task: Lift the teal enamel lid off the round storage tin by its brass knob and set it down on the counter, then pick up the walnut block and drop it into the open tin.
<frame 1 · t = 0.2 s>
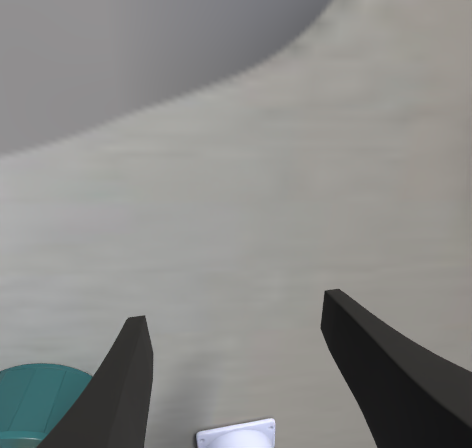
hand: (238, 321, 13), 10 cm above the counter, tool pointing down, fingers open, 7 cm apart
tin: (45, 407, 27), on the counter
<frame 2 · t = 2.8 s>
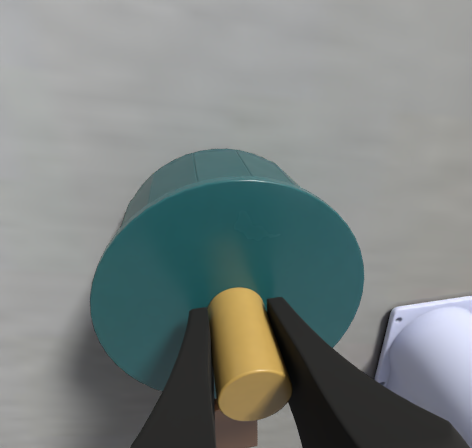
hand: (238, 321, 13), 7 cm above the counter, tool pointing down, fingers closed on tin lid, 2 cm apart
tin: (219, 239, 19), on the counter
tin lid: (233, 301, 14), point 5 cm above the counter, touching gripper, tin
block: (214, 371, 24), on the counter
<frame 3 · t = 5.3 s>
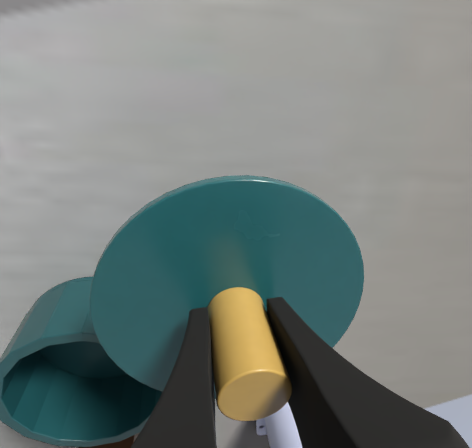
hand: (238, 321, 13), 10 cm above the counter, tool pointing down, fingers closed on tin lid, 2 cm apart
tin: (102, 332, 25), on the counter
tin lid: (233, 301, 14), point 9 cm above the counter, touching gripper
block: (118, 420, 30), on the counter
when the fingers open (2 cm above the counter, at t = 7.7 s): tin lid stays where it is, point 1 cm above the counter.
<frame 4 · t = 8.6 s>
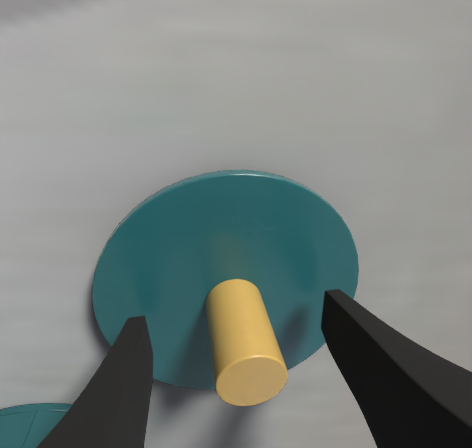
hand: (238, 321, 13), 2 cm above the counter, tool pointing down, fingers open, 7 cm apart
tin lid: (231, 293, 14), point 1 cm above the counter
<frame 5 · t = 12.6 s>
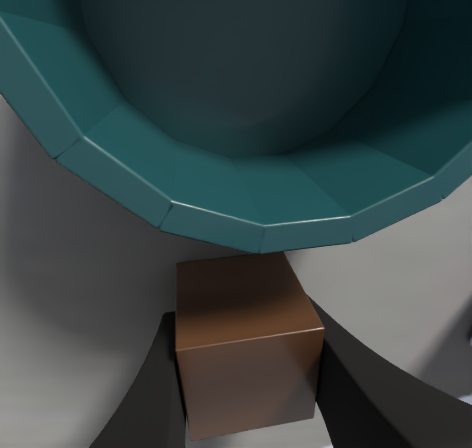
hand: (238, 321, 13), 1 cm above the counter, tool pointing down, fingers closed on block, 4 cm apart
block: (232, 298, 14), on the counter, touching gripper
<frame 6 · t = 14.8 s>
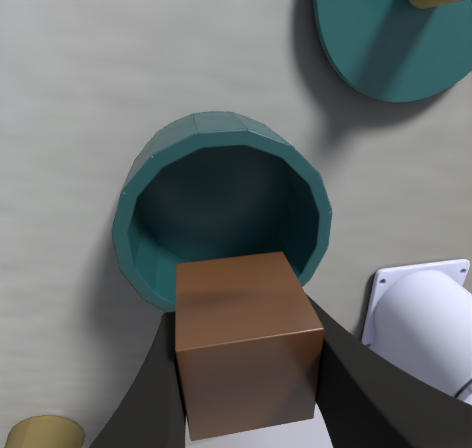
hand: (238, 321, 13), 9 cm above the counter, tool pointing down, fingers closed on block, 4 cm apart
tin: (216, 198, 21), on the counter
cork: (48, 435, 28), on the counter
block: (232, 299, 14), point 8 cm above the counter, touching gripper
when the fingers open (3 cm above the counter, at t = 17.2 s): block drops 2 cm, resting on tin.
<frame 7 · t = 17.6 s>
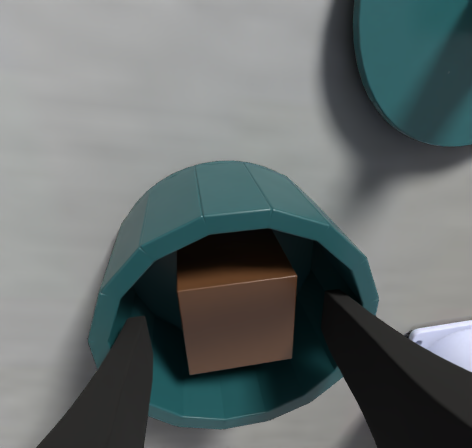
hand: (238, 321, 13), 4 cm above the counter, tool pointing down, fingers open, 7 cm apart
tin: (224, 260, 17), on the counter
block: (225, 265, 16), resting on tin
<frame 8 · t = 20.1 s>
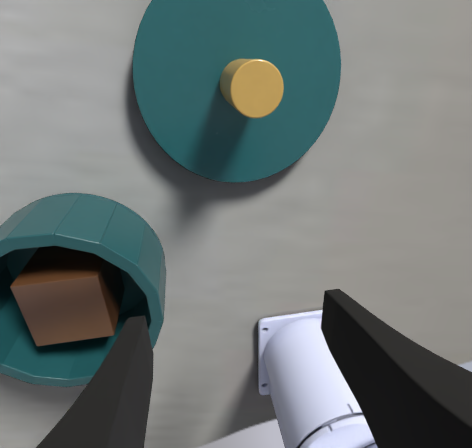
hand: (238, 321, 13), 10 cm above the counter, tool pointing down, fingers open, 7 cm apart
tin: (86, 264, 22), on the counter
tin lid: (239, 82, 18), point 1 cm above the counter
block: (85, 268, 22), resting on tin
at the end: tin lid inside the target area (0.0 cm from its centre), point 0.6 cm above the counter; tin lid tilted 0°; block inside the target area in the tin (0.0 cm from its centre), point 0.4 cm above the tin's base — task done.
